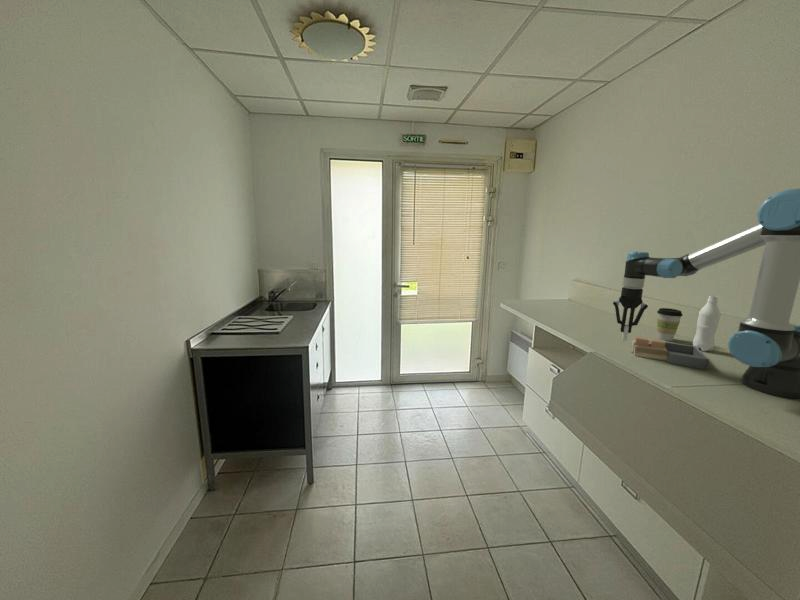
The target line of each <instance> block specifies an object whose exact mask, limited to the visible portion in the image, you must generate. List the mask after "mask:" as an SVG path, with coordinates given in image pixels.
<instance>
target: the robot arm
mask: <svg viewBox="0 0 800 600" xmlns="http://www.w3.org/2000/svg"><path fill="white" fill-rule="evenodd" d="M756 213H757V214H756V218H757V221H758V223H756V224H754V225H751V226H749V227H747V228H745V229H742V230H740V231H737V232H735V233H733V234H731V235H728V236H726V237H723V238H721V239H720V240H717V241H715V242H713V243H710V244H708V245H705V246H703V247H701V248H699V249H696V250H694V251H691V252H690V253H687V254H685V255H683V256H680V257H666V258H665V257H663V258H662V257H650V254H649V252H647V251H629V252H628V253H627V256H626V259H625V268H624V275H623V279H622V280H623V281H622V288H621V292H620V297H619V298H618V299H617V300H614V301H612V304H613V306H614V309H615V316H616V318H615V319H616V322H617V323H618V324H620V332H621V333H622V336H621V337H622V338H621V339H622V340H623V341H628V335H629V334H631V333H632V328H633V326H638V324H639V322H640V320H641V318H642V316H643V314H644V312H645V310H647V309H648V308H649V306H648V304H646V303H645V302H643V292H644V289H643V288H644V287H645V280H646V276H651V277H656V278H663V279H676V278H677V277H688V276H692V275H695V274H697V272H699V271H701V270H703V269H705V268H708V267H710V266H713V265H716V264H719V263H721V262H723V261H726V260H729V259H732V258H734V257H737V256H740V255H742V254H745V253H747V252H750V251H752V250H753V251H754V250H755V249H758V248H760V247H763V246H764V247H763V248H764V250H763V252H762V258H761V262H760V266H759V271H758V274H757V279H756V283H755V287H754V292H753V296H752V300H751V304H750V309H749V314H748V316H747V317H745V318H743V319H741V320H740V323H739V327H738V331H737V332H735V333H734V334H733V335H732V336H731V337H730V338H729V340H728V343H727V344H728V345H727V346H728V351H729V352H730V355H732V357H734V359H735V360H737V361H738V362H740V363H742V364H744V365H745V366H748V367H747V368H746V370H745V371H744V372H743V374H742V375H741V379H740V380H741V381H740V382H741V383H742V384H743V385H744V386H746V387H749V388H751V389H753V390H755V391H760V392H762V393H765V394H769V395H771V396H772V395H773V396H776V397H781V398H788V399H798V400H800V325H798V324H793V323H790V319H791V315H792V312H793V307H794V305H795V304H794V303H795V300H796V298H797V297H796V296H797V292H798V289H799V284H800V188H791V189H784V190H782V191H778V192H776V193H774V194H771V196H769V197H767V198H766V199H765V200H764V201H762V203H761V205H760V206H759V208H758V209H757V212H756ZM620 304H621V305H622V307H623V311H622V316H621V315H620V309H619V306H620ZM639 306H640V308H639V310H638V312H637V315H636V316H635V311H636V309H637V308H638V307H639ZM629 309H630V312H629V317H628V324H626V321H627V315H628V310H629ZM634 316H635V319H634ZM621 317H622V318H621Z"/></svg>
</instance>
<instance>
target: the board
mask: <svg viewBox="0 0 800 600" xmlns="http://www.w3.org/2000/svg"><path fill="white" fill-rule="evenodd" d="M634 341H635V338H632V341H631V347H630V348H631V350H632V353H633V355H634V356H636V357H640V358H648V359H653V360H659V361H665V362H667V356H668V351H667V349H666V348H665V347H664V349H663V348H656V347H651V346H650V341H649V345H648V346H643V345H636V344H635V342H634Z"/></svg>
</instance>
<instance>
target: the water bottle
mask: <svg viewBox="0 0 800 600" xmlns="http://www.w3.org/2000/svg"><path fill="white" fill-rule="evenodd" d="M718 298H719V296H718V295H710V294H709V296H708V299H706V301H707V302H706V304H705V305H703V306H702V308H701V309H700V310H699V312H698V317H697V322H696V332H695V335H694V338H693V340H692V346H696V347H697V348H698V349H699V350H700V349H701V350H700V351H701V352H711V351H713V348H714V347H715V336H716V332H717V330H718V327H719V322H720V318H721V316H722V314H721V311H720V309H719V307H718V303H719V300H718Z"/></svg>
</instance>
